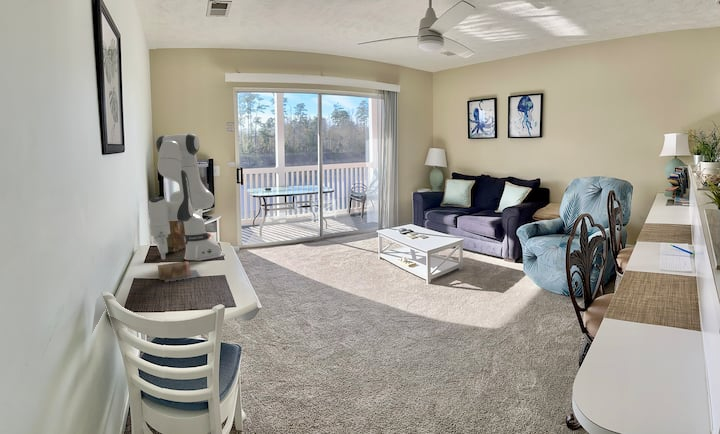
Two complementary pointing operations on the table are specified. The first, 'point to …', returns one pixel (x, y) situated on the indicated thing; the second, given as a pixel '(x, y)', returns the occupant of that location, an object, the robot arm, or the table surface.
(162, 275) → the walnut block
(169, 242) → the book
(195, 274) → the mat
